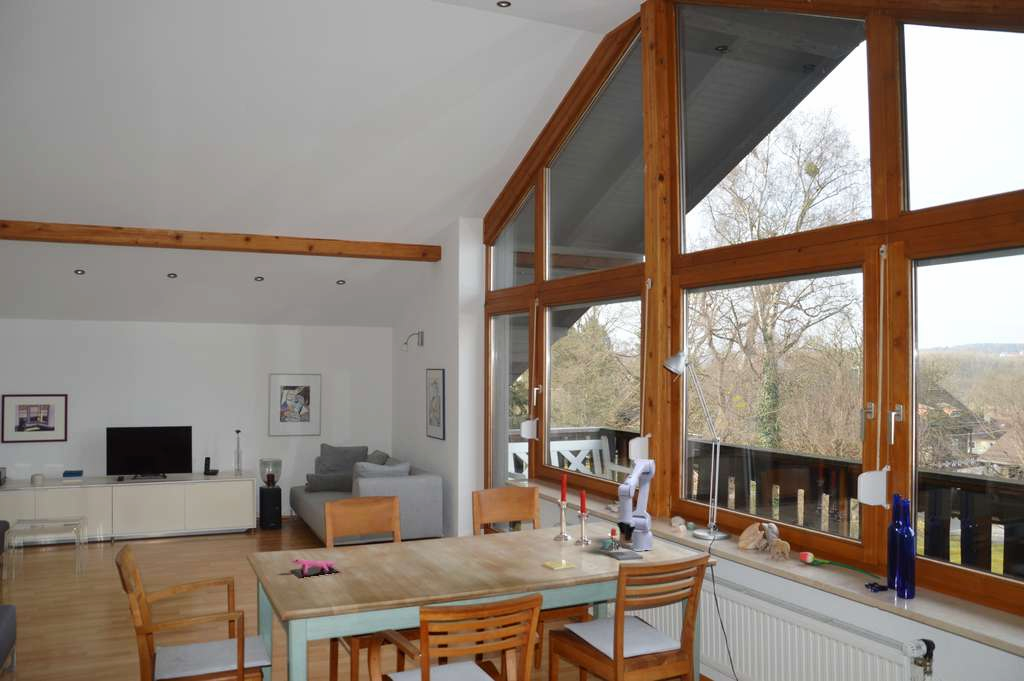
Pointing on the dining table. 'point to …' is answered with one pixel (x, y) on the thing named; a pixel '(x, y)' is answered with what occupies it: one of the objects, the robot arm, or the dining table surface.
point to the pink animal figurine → (313, 568)
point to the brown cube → (624, 539)
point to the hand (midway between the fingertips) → (626, 539)
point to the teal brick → (606, 543)
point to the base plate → (625, 555)
